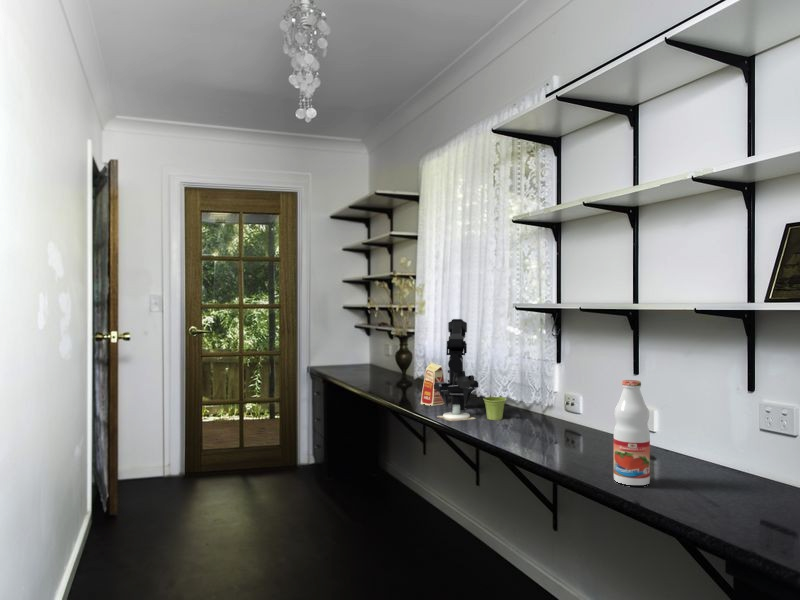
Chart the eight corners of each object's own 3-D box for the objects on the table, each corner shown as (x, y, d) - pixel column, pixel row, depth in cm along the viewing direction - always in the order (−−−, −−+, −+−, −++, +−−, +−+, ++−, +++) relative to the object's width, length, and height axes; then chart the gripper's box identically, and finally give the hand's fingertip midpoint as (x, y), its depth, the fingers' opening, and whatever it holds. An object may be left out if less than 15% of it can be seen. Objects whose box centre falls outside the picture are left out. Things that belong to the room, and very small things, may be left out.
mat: (436, 417, 266) (436, 416, 266) (461, 414, 272) (461, 413, 272) (451, 422, 256) (451, 421, 256) (476, 419, 261) (476, 418, 261)
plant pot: (507, 422, 257) (507, 400, 256) (484, 422, 257) (484, 400, 257) (504, 417, 266) (504, 396, 266) (482, 417, 266) (481, 396, 266)
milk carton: (420, 404, 299) (420, 361, 299) (434, 401, 306) (434, 360, 305) (434, 406, 293) (434, 363, 292) (448, 404, 299) (447, 361, 299)
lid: (438, 416, 266) (438, 403, 266) (460, 413, 271) (460, 401, 271) (451, 420, 256) (451, 408, 256) (474, 418, 261) (474, 405, 261)
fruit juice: (650, 479, 177) (650, 379, 176) (649, 489, 168) (649, 384, 168) (614, 476, 180) (614, 378, 180) (612, 485, 172) (612, 382, 172)
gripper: (446, 371, 252) (446, 410, 252) (485, 369, 260) (485, 406, 261) (432, 368, 262) (433, 406, 262) (471, 366, 270) (471, 402, 271)
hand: (456, 405), depth 264 cm, fingers open, 9 cm apart
